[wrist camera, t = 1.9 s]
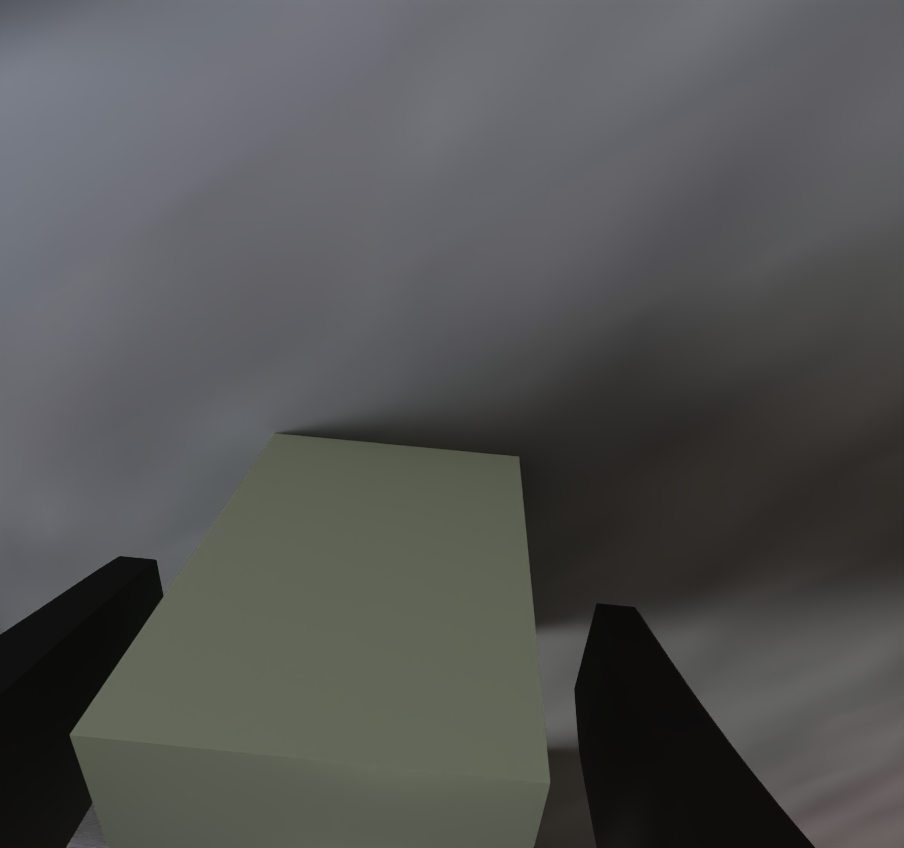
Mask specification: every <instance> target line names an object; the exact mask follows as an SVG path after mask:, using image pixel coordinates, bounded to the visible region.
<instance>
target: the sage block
mask: <svg viewBox="0 0 904 848" xmlns="http://www.w3.org/2000/svg"><path fill="white" fill-rule="evenodd" d="M70 738H71V741H72V744H73V747H74V750H75V753H76V756H77V758H78V761H79V764H80V767H81V770H82V773H83V776H84V779H85V782H86V785H87V787H88V790H89V793H90V796H91V799H92V802H93V805H94V808H95V811H96V814H97V816H98V819H99V822H100V825H101V828H102V831H103V834H104V837H105V840H106V843H107V845H108V848H534V845H535V841H536V837H537V833H538V830H539V826H540V822H541V818H542V814H543V810H544V806H545V803H546V799H547V795H548V791H549V787H550V774H549V764H548V753H547V743H546V732H545V722H544V711H543V701H542V691H541V680H540V670H539V659H538V649H537V638H536V628H535V618H534V607H533V597H532V586H531V576H530V565H529V555H528V545H527V534H526V524H525V513H524V503H523V492H522V482H521V472H520V461H519V456H508V455H498V454H487V453H477V452H466V451H456V450H445V449H435V448H424V447H414V446H403V445H393V444H382V443H372V442H361V441H351V440H340V439H330V438H319V437H309V436H298V435H288V434H277V433H274V435H273V436H272V438H271V439H270V441H269V442H268V444H267V445H266V447H265V448H264V450H263V451H262V452H261V454H260V455H259V457H258V458H257V460H256V461H255V463H254V464H253V466H252V467H251V469H250V470H249V472H248V473H247V475H246V476H245V477H244V479H243V480H242V482H241V483H240V485H239V486H238V488H237V489H236V491H235V492H234V494H233V495H232V497H231V498H230V500H229V501H228V503H227V504H226V505H225V507H224V508H223V510H222V511H221V513H220V514H219V516H218V517H217V519H216V520H215V522H214V523H213V525H212V526H211V528H210V529H209V530H208V532H207V533H206V535H205V536H204V538H203V539H202V541H201V542H200V544H199V545H198V547H197V548H196V550H195V551H194V553H193V554H192V555H191V557H190V558H189V560H188V561H187V563H186V564H185V566H184V567H183V569H182V570H181V572H180V573H179V575H178V576H177V578H176V579H175V580H174V582H173V583H172V585H171V586H170V588H169V589H168V591H167V592H166V594H165V595H164V597H163V598H162V600H161V601H160V603H159V604H158V605H157V607H156V608H155V610H154V611H153V613H152V614H151V616H150V617H149V619H148V620H147V622H146V623H145V625H144V626H143V628H142V629H141V630H140V632H139V633H138V635H137V636H136V638H135V639H134V641H133V642H132V644H131V645H130V647H129V648H128V650H127V651H126V653H125V654H124V655H123V657H122V658H121V660H120V661H119V663H118V664H117V666H116V667H115V669H114V670H113V672H112V673H111V675H110V676H109V678H108V679H107V681H106V682H105V683H104V685H103V686H102V688H101V689H100V691H99V692H98V694H97V695H96V697H95V698H94V700H93V701H92V703H91V704H90V706H89V707H88V708H87V710H86V711H85V713H84V714H83V716H82V717H81V719H80V720H79V722H78V723H77V725H76V726H75V728H74V729H73V731H72V732H71V733H70Z"/></svg>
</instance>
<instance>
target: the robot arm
mask: <svg viewBox="0 0 904 848" xmlns="http://www.w3.org/2000/svg"><path fill="white" fill-rule="evenodd" d="M163 597H164V596H163V591H162V586H161V581H160V576H159V571H158V566H157V561H156V560H153V559H143V558H133V557H123V556H119V557H117V558H116V559H114V560H113V561H111V562H109V563H108V564H106V565H105V566H103V567H101V568H100V569H98V570H97V571H95V572H94V573H92V574H91V575H89V576H88V577H86V578H85V579H83V580H82V581H80V582H79V583H77V584H76V585H74V586H73V587H71V588H70V589H68V590H67V591H65V592H64V593H62V594H61V595H59V596H58V597H56V598H55V599H53V600H52V601H50V602H49V603H47V604H46V605H44V606H43V607H42V608H40V609H39V610H37V611H36V612H34V613H32V614H31V615H29V616H28V617H26V618H25V619H23V620H22V621H20V622H19V623H17V624H16V625H14V626H13V627H11V628H10V629H8V630H7V631H5V632H4V633H2V634H1V635H0V848H66V847H67V845H68V844H69V842H70V840H71V839H72V837H73V835H74V834H75V832H76V830H77V829H78V827H79V825H80V823H81V822H82V820H83V818H84V817H85V815H86V813H87V812H88V810H89V808H90V807H91V805H92V803H93V802H92V799H91V796H90V793H89V790H88V787H87V785H86V782H85V779H84V776H83V773H82V770H81V767H80V764H79V761H78V758H77V756H76V753H75V750H74V747H73V744H72V741H71V738H70V733H71V732H72V731H73V729H74V728H75V726H76V725H77V723H78V722H79V720H80V719H81V717H82V716H83V714H84V713H85V711H86V710H87V708H88V707H89V706H90V704H91V703H92V701H93V700H94V698H95V697H96V695H97V694H98V692H99V691H100V689H101V688H102V686H103V685H104V683H105V682H106V681H107V679H108V678H109V676H110V675H111V673H112V672H113V670H114V669H115V667H116V666H117V664H118V663H119V661H120V660H121V658H122V657H123V655H124V654H125V653H126V651H127V650H128V648H129V647H130V645H131V644H132V642H133V641H134V639H135V638H136V636H137V635H138V633H139V632H140V630H141V629H142V628H143V626H144V625H145V623H146V622H147V620H148V619H149V617H150V616H151V614H152V613H153V611H154V610H155V608H156V607H157V605H158V604H159V603H160V601H161V600H162V598H163ZM574 690H575V704H576V718H577V731H578V742H579V753H580V759H581V765H582V771H583V776H584V782H585V787H586V792H587V798H588V803H589V809H590V814H591V819H592V825H593V830H594V835H595V840H596V846H597V848H815V847H814V846H813V845H812V843H811V842H810V841H809V840H808V839H807V838H806V836H805V835H804V834H803V833H802V832H801V831H800V829H799V828H798V827H797V826H796V825H795V824H794V822H793V821H792V820H791V819H790V818H789V816H788V815H787V814H786V813H785V812H784V810H783V809H782V808H781V807H780V806H779V804H778V803H777V802H776V801H775V799H774V798H773V797H772V796H771V794H770V793H769V792H768V791H767V789H766V788H765V787H764V786H763V784H762V783H761V782H760V781H759V780H758V778H757V777H756V776H755V775H754V773H753V772H752V771H751V770H750V768H749V767H748V766H747V764H746V763H745V762H744V761H743V759H742V758H741V757H740V755H739V754H738V753H737V751H736V750H735V749H734V748H733V746H732V745H731V744H730V742H729V741H728V740H727V738H726V737H725V735H724V734H723V733H722V731H721V730H720V729H719V727H718V726H717V725H716V723H715V722H714V721H713V719H712V718H711V716H710V715H709V714H708V712H707V711H706V710H705V708H704V707H703V706H702V704H701V703H700V701H699V700H698V699H697V697H696V696H695V694H694V693H693V692H692V690H691V689H690V687H689V686H688V685H687V683H686V682H685V680H684V679H683V677H682V676H681V674H680V673H679V671H678V670H677V669H676V667H675V666H674V664H673V663H672V661H671V660H670V658H669V657H668V655H667V654H666V652H665V651H664V649H663V648H662V646H661V645H660V643H659V642H658V640H657V639H656V637H655V636H654V634H653V633H652V631H651V630H650V628H649V627H648V625H647V624H646V622H645V621H644V619H643V618H642V616H641V615H640V613H639V612H638V611H637V610H636V608H635V607H629V606H618V605H608V604H598V603H597V604H596V608H595V612H594V616H593V620H592V623H591V627H590V631H589V635H588V639H587V643H586V646H585V650H584V654H583V658H582V662H581V666H580V670H579V673H578V677H577V681H576V685H575V689H574Z"/></svg>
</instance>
